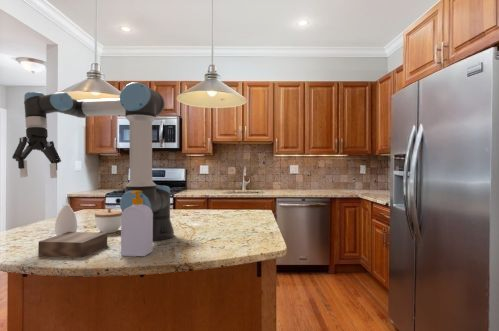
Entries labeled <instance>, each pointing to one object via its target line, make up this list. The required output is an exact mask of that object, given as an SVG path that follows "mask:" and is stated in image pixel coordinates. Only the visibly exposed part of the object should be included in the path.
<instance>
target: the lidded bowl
mask: <svg viewBox="0 0 499 331" xmlns="http://www.w3.org/2000/svg"><path fill="white" fill-rule="evenodd" d="M121 215H122V210H111V208H107V210H105V211H97V212H94V223H95V226H96V229H97V230H99V231H100V233H107V234H110V233H116V232H118V230H119V229H121Z"/></svg>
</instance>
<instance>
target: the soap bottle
mask: <svg viewBox="0 0 499 331" xmlns="http://www.w3.org/2000/svg"><path fill="white" fill-rule="evenodd" d="M134 193H136V198H133V199H132V206H130V207H128V208H126V209H125V210H124V211H123V212H122V215H121V227H120V255H121V256H122V257H136V256H144V257H146V256H147V255H149V254H150V253H152V252H153V250H154V249H153V247H154V246H153V245H154V244H153V241H154V240H153V213H152V210H151V209H150V207H148V206H146V205H143V198H140V193H142V191H140V190H135V191H132V193H131V194H134Z"/></svg>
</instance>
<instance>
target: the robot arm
mask: <svg viewBox="0 0 499 331" xmlns="http://www.w3.org/2000/svg"><path fill="white" fill-rule="evenodd" d="M23 98H24V102H23V104H24V117H25V128H26V129H25V136H22V137H19V143H18V145H17V147H16V148H15V150H14V153H13V154H12V159H13V160H15V161H16V162H17V163H18V165H17V166H18V169H19V175H20V178H26V177H28V160H26V158H27V157H28V156H29V155H30V153H32V152H33V150H34V151H35V150H36V151H39V152H41V153H43V154H44V156H45V157H46V158H47V159H48V161H49V162H50V163H49V175H50V179H56V178H57V177H58V174H57V171H58V164H59V163H61V162H62V160H61V157H60V156H59V153H58V152H57V149H56V147H55V142H54V141H53V140H52V141H51V140H50V141H48V139H47V138H48V136H49V135H48V121H47V120H48V117H47V114H52V113H53V114H54V113H58V114H59V113H61V114H65V115H69V116H72V117H76V118H80V119H83V118H84V119H87V118H88V117H108V116H109V117H110V116H124V117H125V119H127V121H128V122H129V181H128V183H127V184H125V192H124V194H123V195H122V196H121V198H120V201H119V207H120V211H122V212H123V211H124V210H125V209H126V208H128V207H130V206H132V199H133V198H136V193H134V194H131V193H132V191H135V190H140V191H142V193H140V198H143V205H146V206H148V207H150V209H151V210H152V213H153V241H162V240H168V239H172V238H173V237H175V233H174V232H175V231H174V227H173V224H172V221H171V196H172V194H171V188H170V186H168V185H159V184H157V183H155V182H154V180H153V122H154V121H155V120H156V119H157V117H158V116H160V115H161V114H162V113H163V111H164V109H165V106H166V104H165V103H166V102H165V99H164V97H163V96H162V94H160V92H158V91H156V90H154V89H152V88H150V87H149V86H148V85H146V84H144V83H141V82H136V81H135V82H130V83H128V84H126V85H125V87H123V88H122V90H121V91H120V93H119V98H99V99H80V100H79V99H75V98H72V96H71V95H70V94H69V93H68V92H65V91H64V92H63V91H62V92H53V93H50V94H44V93H43V92H39V91H29V92H25V94H24V97H23ZM26 145H27V146H26Z"/></svg>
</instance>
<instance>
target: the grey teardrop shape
mask: <svg viewBox="0 0 499 331" xmlns="http://www.w3.org/2000/svg"><path fill="white" fill-rule="evenodd" d="M77 230H78V220H77V216H76V213H75V212H74V210H73V207H71V205H70V204H68V199H67V198H66V199H65V204H63V205H62V208H60V210H59V212H58V214H57V216H56V219H55V224H54V231H55V235H56V236H58V235H61V234H64V233H67V232H77Z"/></svg>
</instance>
